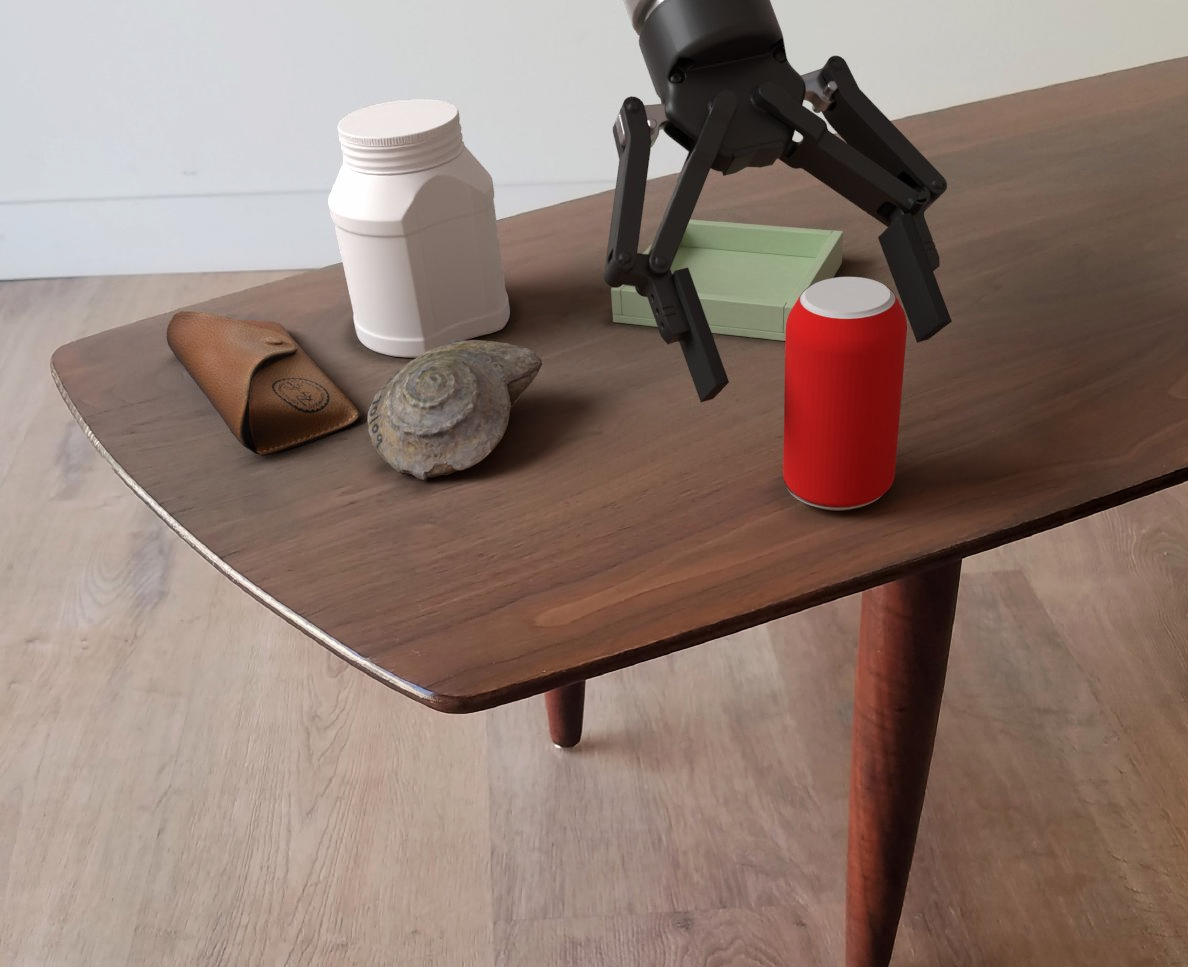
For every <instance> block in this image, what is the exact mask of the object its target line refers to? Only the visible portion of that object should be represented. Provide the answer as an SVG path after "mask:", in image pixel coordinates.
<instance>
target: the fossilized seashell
mask: <svg viewBox="0 0 1188 967" xmlns="http://www.w3.org/2000/svg"><path fill="white" fill-rule="evenodd" d="M542 367H543V361H542V358H541V357H540V356H539V355H538V354H537V353H536V352H534V351H533V350H531V349H530V348H528V347H524V346H521V345H518V344H511V343H508V342H500V341H493V340H484V339H483V340H481V339H480V340H479V339H468V340H458V341H453V342H450V343H447V344H445V345H443V346H439V347H436V348H433V349H430V350H428V351H427V352H425V353H424V354H422V355H420V356H419V357H417V358H413V359H412V360H411V361H409V362H407V363H406V364H404V365H403V366H402V367H401V368H400V369H398V370H397V371H396V372H395V373H394V374H392V376H390V378H389V379H388V380H387V381H386V382H385V383H384V385H383V386H382V387H381V389H379V392H377V393H376V394H375V395H374V397H373V400H372V402H371V403H370V404H371V405H370V407H369V409H368V412H367V427H368V434H369V437H370V441H371V445H372V446H373V448H374V450H376V452H377V453H378V455H379V456H380V457H381V458H382V460H384V462H386V463H387V464H388V465H390V467H391V468H393V469H394V470H395V471H396V472H398V473H399V474H409V475H412V476H414V477H415V478H416V479H418V480H422V481H424V480H426V479H428V478H435V477H440V476H449V475H451V474H453V473H456V472H458V471H464V470H466V469H469V468H471V467H473V466H476V465H477V464H478V463H480V462H482V461H483V460H484V459H485V458H486V457H488V455H489V454H490V453H491V452H493V450H494V449H495V448H496V447H497V446H498V445H499V443H500V442H501V441H502V439H503V437H504V434H505V433H506V431H507V428H508V426H509V420H510V412H511V407H513V406H515V404H516V401H518V399H519V398H520V397H521V395H523V393H524V392H525V391H526V390H527V388H528V387H529V386H530V385H531V384H532V383H533V381H534V380H535V378H536V377H537V376H538V373H539V372H540V370H541V368H542Z"/></svg>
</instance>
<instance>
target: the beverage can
mask: <svg viewBox="0 0 1188 967" xmlns="http://www.w3.org/2000/svg"><path fill="white" fill-rule="evenodd" d="M906 316H907V315H906V312H905V309H904V308H903V307H902V305H901V303H900V301H899V299H898V297H897V295H896V294H895V292H894V291H893V289H891V288H890V287H889V286H887V285H885V284H883V283H881V282H880V281H877V280H874V279H870V278H866V277H860V276H859V277H858V276H838V277H833V278H831V279H826V280H823V281H820V282H817V283H815V284H813V285H812V286H810V287H808V288H807V289H805V290H804V291H803V292H802V294H801V295H800V297H799V298H798V300H797V301H796V303H795V305H794V306H793V308H792V309H791V311H790V313H789V315H788V318H787V322H786V337H785V341H784V343H785V344H784V345H785V346H784V395H783V396H784V399H783V400H784V401H783V403H784V404H783V405H784V406H783V450H782V451H783V455H782V476H783V481H784V485H785V488H786V490H787V491H788V492H789V493H790V494H791V496H792V497H794V498H795V500H798V501H800V502H802V503H803V504H806V505H808V506H811V507H813V508H814V507H815V508H816V509H817V508H818V509H822V510H827V511H835V512H836V511H840V512H841V511H842V512H843V511H850V510H853V509H859V508H863V507H865V506H868V505H870V504H872V503H874V502H876V501H877V500H879V499H881V498H882V497H883V495H884V494H886V493H887V492H888V491H889V490H890V488H891V487H892V485H893V484H894V481H895V476H896V465H897V454H898V443H899V442H898V440H899V430H900V420H901V419H900V418H901V405H902V395H903V394H902V393H903V383H904V382H903V381H904V369H905V360H906V358H905V357H906V347H907V346H906V345H907V337H908V336H907V335H908V322H907V321H908V320H907V317H906Z"/></svg>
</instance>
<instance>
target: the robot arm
mask: <svg viewBox="0 0 1188 967" xmlns="http://www.w3.org/2000/svg"><path fill="white" fill-rule="evenodd" d="M622 1H623V4H624V6H625V9H626V12H627V15H628V18H629V21H630V23H631V27H632V28H633V30H634V31H635V33H636V34H637V36H638V46H639V49H640V53H641V55H642V58H643V61H644V63H645V66H646V69H647V71H648V74H649V77H650V80H651V82H652V85H653V88H654V92H655V94H656V96H657V97H658V98H659V100H660V103H655V104H644V102H643V101H642V100H641V99H640V98H639V97H636V96H628V97H626V98H625V99H624V100H623V102H622V104H621V107H620V109H619V111H618V114H617V116H616V118H615V122H614V124H613V126H612V134H613V140H614V142H615V147H616V151H617V156H618V165H617V166H618V167H617V168H618V169H617V174H616V182H615V190H614V195H613V196H614V197H613V204H612V211H611V218H610V227H609V234H608V241H607V248H606V257H605V263H604V271H603V281H604V282H605V284H606V285H608V287H611V288H612V287H613V288H618V287H621V286H622V285H630V286H635V290H636V291H637V293H638V294H639V295H641V296H643V297H647V298H648V301H649V304H650V307H651V309H652V312H653V315H654V318H655V321H656V324H657V326H658V327H657V329H658V332H659V334H660V337H661V338H662V340H663V341H664V342H665V343H666V344H667V345H670V344H674V343H678V342H679V345H680V348H681V351H682V354H683V356H684V359H685V362H686V366H687V367H688V371H689V373H690V377H691V378H692V382H693V385H694V387H695V390H696V393H697V397H698V399H699V402H700V403H705V402H707V401H711V400H712V401H713V400H714V399H715V398H716V397H717V396H718V395H719V394H720V393H721V392H722V390H724V389H725V388H726V386H727V385H728V384H730V381H729V378H728V375H727V373H726V370H725V367H724V364H723V361H722V358H721V356H720V353H719V350H718V348H717V343H716V341H715V339H714V336H713V333H711V330H710V327H709V324H708V322H707V319H706V316H705V313H704V310H703V308H702V305H701V302H700V299H699V296H698V294H697V291H696V288H695V285H694V282H693V280H692V277H691V274H690V271H689V268H688V267H687V268H683V269H679V270H675V271H674V273H673V275H672V272H671V269H670V268H671V265H672V263H673V261H674V258H675V256H676V253H677V251H678V248H679V246H680V243H681V241H682V238H683V236H684V233H685V231H686V228H687V226H688V223H689V221H690V220H691V218H692V215H693V213H694V210H695V208H696V205H697V204H698V200H699V198H700V196H701V193H702V190H703V188H704V185H705V183H706V181H707V179H708V176H709V173H710V171H711V170H712V171H715V172H720V173H722V176H723V177H725V176H730V175H734V174H737V173H738V172H741V171H742V170H744V169H746V168H764V167H769V166H773V165H774V164H775V162H776V161H777V160H779V161H781V162H783V164H785V165H786V166H788V167H789V168H791V169H795V170H799V169H802V170H803V171H805V172H807V173H808V174H809V175H811V176H812V177H814V178H815V179H817V180H818V181H820V182H821V183H823V184H824V185H826V186H827V187H828V188H830V189H831V190H833V191H834V192H835V193H837V194H839V195H840V196H842V197H843V198H844V199H845V200H847V201H849V202H850V203H851V204H853V205H855V206H856V207H858V208H859V209H860V210H862V211H864V212H865V213H866V214H868V215H869V216H871V217H872V218H874V219H875V220H876V221H878V222H879V223H881V224H882V225H884V226H885V227H887V228H886V229H884V231H883V232H882V233H881V234H879V236H878V237H877V239H878V242H879V245H880V247H881V250H882V253H883V255H884V257H885V260H886V263H887V266H888V268H889V272H890V274H891V277H892V279H893V282H894V284H895V287H896V290H897V292H898V295H899V298H900V301H901V303H902V305H903V310H904V313H905V315H906V316H907V317H906V318H907V319H908V320H907V321H908V322H909V325H910V328H911V330H912V333H913V335H914V338H915V341H916V343H920V342H925V341H929V340H930V339H931V338H933V337H934V336H935V335H937V334H938V333H939V332H941V331H942V330H943V329H944V328H945V327H947V326H948V325H949V324H951V323H952V322H953V321H952V317H951V315H950V313H949V310H948V308H947V307H948V306H947V304H946V302H945V299H944V297H943V294H942V292H941V288H940V286H939V283H938V281H937V278H936V274H935V273H934V272H935V271H936V270H937V269H938V268H939V267H940V255H939V253H938V249H937V247H936V244H935V242H934V239H933V236H932V234H931V231H930V228H929V226H928V223H927V220H926V217H925V212H926V211H927V210H928V209H929V208H930V207H931V206H932V205H933V204H934V203H935V202H936V201H937V200H938V199H939V198H940V197H941V196H942V195H943V194H944V193H945V192H946V190H947V188H948V182H947V180H946V178H945V177H944V176H943V175H942V174H941V173H940V172H939V170H938V169H937V168H935V166H934V165H933V164H932V163H931V162H930V161H929V160H928V159H927V158H926V157H925V156H924V155H923V154H922V153H921V152H920V150H919V149H917V147H916V146H914V144H913V143H912V142H911V141H910V140H909V139H908V138H907V137H906V136H905V135H904V134H903V133H902V132H901V131H900V130H899V128H897V126H895V124H894V123H893V122H892V121H891V120H890V119H889V118H888V117H887V116H886V115H885V114H884V113H883V112H882V111H881V109H880V108H878V107H877V105H875V103H874V102H873V101H872V100H871V99H870V98H869V97H868V96H867V95H866V94H865V93H864V92H863V90H861V89H860V87H859V85H858V83H857V80H856V79H855V77H854V75H853V73H852V71H851V70H850V67H849V65H848V63H847V61H846V60H845V58H843V57H842V56H839V55H831V56H830V57H829V58H828V60H826V62H825V64H824V65H823V66H822V67H821V68H818V69H816V70H813V71H810V72H806V73H804V74H800V73H799V72H798V71H797V70H796V69H795V68H794V67H793V66H792V65H791V63H790V62H789V60H788V56H787V52H786V45H785V39H784V35H783V31H782V28H781V26H780V22H779V21H778V18H777V15H776V13H775V10H774V8H773V4H772V2H771V0H622ZM804 101H807V102H809V103H810V104H811V105H812V106H811V109H812V110H810V109H809V108H808V107H806V106H804V105H803V104H804ZM820 113H821V114H822V116H823V117H824V119H825V120H826V121H827V122H826V121H825V120H824V119H823V118H821V116H819V115H817V114H820ZM827 123H828V124H827ZM828 125H829V126H830V127H831V128H832V129H833V131H835V132H836V134H838V136H837V135H836V134H834V133H833V132H832V131H830V130H829V128H828ZM661 130H662V131H663V132H664V133H665V134H666V135H667V136H668V137H669V138H670V139H672V140H673V141H674V142H675V143H677V144H678V145H679V146H681V147H682V148H683V149H684V150H686V151H687V152H688V153H687V155H686V158H685V160H684V162H683V165H682V167H681V169H680V171H679V175H678V177H677V180H676V184H675V187H674V189H673V191H672V194H671V196H670V199H669V202H668V204H667V206H666V208H665V211H664V213H663V216H662V218H661V220H660V223H659V226H658V227H657V231H656V232H655V235H654V238H653V241H652V243H651V244H652V245H651V244H650V245H651V248H650V250H649V253H648V254H643V253H641V252H639V251H638V250H639V243H640V242H639V241H640V235H641V227H642V219H643V212H644V204H645V195H646V189H647V188H646V187H647V180H648V172H649V166H650V158H651V148H653V147H654V145H655V143H656V141H657V139H658V137H659V135H660V131H661ZM795 132H796V133H798V134H799V135H801V136H802V138H801V140H800V141H796V140H794V139H793V138H794V135H795ZM839 136H840V137H839Z"/></svg>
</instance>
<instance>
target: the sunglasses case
mask: <svg viewBox="0 0 1188 967" xmlns="http://www.w3.org/2000/svg"><path fill="white" fill-rule="evenodd" d="M165 334H166V342H167V346H168V348H169V349H170V351H171V352H172V353H173V355H174V357H175V358H176V359H177V360H178V362H179V363H180V364H181V365H182V366H183V368H184V369H185V371H186V372H187V373H188V374H189V376H190V378H191V379H192V380H193V381H194V383H195V384H196V385H197V387H199V389H200V391H201V392H202V393H203V395H204V396H206V398H207V399H208V401H209V402H210V404H211V406H212V407H213V408H214V409H215V410H216V412H217V413H218V415H219V416H220V417H221V419H222V420H223V421H224V423H225V425H226V426H227V427H228V429H229V431H230V432H231V434H232V435H233V436H234V437H235V438H236V440H237V441H238V442H239V444H240V445H242V447H244V448H246V449H247V450H249V451H251V452H252V453H254V454H255V455H258V456H262V457H264V456H269V455H272V454H274V453H277V452H283V451H286V450H289V449H290V450H291V449H293V448H297V447H300V446H303V445H305V444H309V443H311V442H314V441H316V440H319V439H321V438H323V437H327V436H329V435H331V434H333V433H335V432H338V431H340V430H342V429H345V428H347V427H349V426H351V425H353V424H354V423H355V422H357V421H358V420H359V419H360V418H361V413H360V412H359V411H358V409H357V407H356V406H355V404H353V403H352V401H351V400H350V399H349V398H348V397H347V395H346V394H344V392H343V391H342V390H341V389H340V388H339V387H338V386H337V385H336V384H335V382H333V381H332V380H331V378H329V377H328V376H327V374H325V372H323V371H322V370H321V368H320V367H319V366H318V365H317V364H316V363H315V362H314V361H313V360H312V359H311V358H310V357H309V355H308V353H306V352H305V351H304V350H303V349H302V348H301V347H300V345H299V344H298V343H297V342H296V341H295V339H294V338H293V337H292V336H291V335H290V333H289V332H288V331H287V330H286V328H285V327H284V325H283V324H282V323H280V322H276V321H271V320H267V321H266V320H247V319H235V318H230V317H227V316H221V315H218V314H214V313H213V314H212V313H206V312H202V311H191V310H180V311H178V312H176V313H175V314H174V315H173V316H172V318H171V319H170V321H169V323H168V324H167V328H166V333H165Z"/></svg>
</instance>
